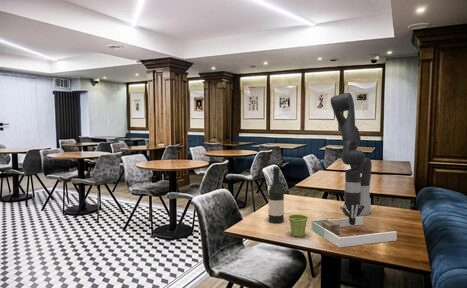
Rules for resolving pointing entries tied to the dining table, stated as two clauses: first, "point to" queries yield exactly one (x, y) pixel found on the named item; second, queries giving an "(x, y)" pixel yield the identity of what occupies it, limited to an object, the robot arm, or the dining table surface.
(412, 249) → the dining table surface
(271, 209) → the wine bottle
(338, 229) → the walnut block
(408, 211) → the dining table surface
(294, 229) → the plant pot
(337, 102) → the robot arm
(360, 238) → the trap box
